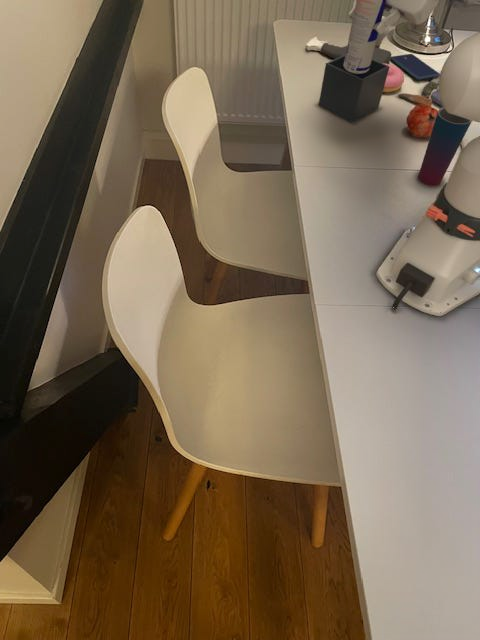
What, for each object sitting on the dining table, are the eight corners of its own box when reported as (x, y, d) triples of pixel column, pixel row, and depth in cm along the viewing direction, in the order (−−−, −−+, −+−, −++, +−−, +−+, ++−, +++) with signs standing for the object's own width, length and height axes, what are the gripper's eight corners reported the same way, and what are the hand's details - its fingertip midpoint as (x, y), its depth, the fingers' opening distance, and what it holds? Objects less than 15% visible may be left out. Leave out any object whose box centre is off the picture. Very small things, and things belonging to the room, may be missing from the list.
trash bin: (352, 123, 124) (362, 80, 116) (318, 105, 129) (325, 63, 121) (378, 108, 130) (389, 66, 121) (344, 91, 134) (353, 50, 126)
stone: (401, 93, 135) (396, 99, 134) (402, 88, 134) (397, 94, 133) (433, 104, 131) (428, 109, 130) (434, 98, 130) (429, 104, 129)
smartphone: (440, 76, 140) (411, 55, 149) (441, 73, 140) (412, 52, 149) (417, 80, 138) (388, 59, 148) (417, 77, 138) (389, 56, 147)
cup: (423, 190, 108) (449, 125, 97) (408, 171, 113) (431, 107, 101) (450, 186, 110) (479, 122, 98) (435, 167, 114) (461, 104, 102)
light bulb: (386, 52, 151) (395, 16, 143) (378, 59, 147) (388, 22, 140) (368, 47, 152) (376, 10, 145) (360, 54, 149) (368, 17, 141)
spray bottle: (379, 75, 141) (300, 54, 148) (391, 60, 147) (314, 41, 154) (382, 64, 138) (301, 44, 146) (394, 50, 145) (316, 31, 152)
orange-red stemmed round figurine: (395, 137, 125) (413, 132, 116) (401, 106, 124) (419, 98, 114) (423, 141, 126) (443, 136, 117) (429, 110, 125) (450, 103, 115)
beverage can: (368, 77, 106) (387, -3, 94) (341, 73, 107) (358, -7, 95) (369, 64, 109) (388, -14, 98) (343, 61, 110) (359, -17, 98)
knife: (452, 75, 144) (441, 72, 146) (453, 70, 143) (443, 67, 145) (426, 99, 133) (415, 96, 134) (428, 94, 132) (417, 91, 133)
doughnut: (353, 82, 137) (356, 67, 134) (378, 71, 142) (382, 56, 139) (385, 98, 132) (389, 83, 129) (409, 86, 137) (414, 71, 134)
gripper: (366, -68, 99) (322, -3, 103) (450, -36, 90) (397, 34, 93) (376, -45, 105) (333, 16, 108) (455, -13, 95) (406, 53, 99)
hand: (363, 25), depth 101 cm, fingers closed on beverage can, 5 cm apart
